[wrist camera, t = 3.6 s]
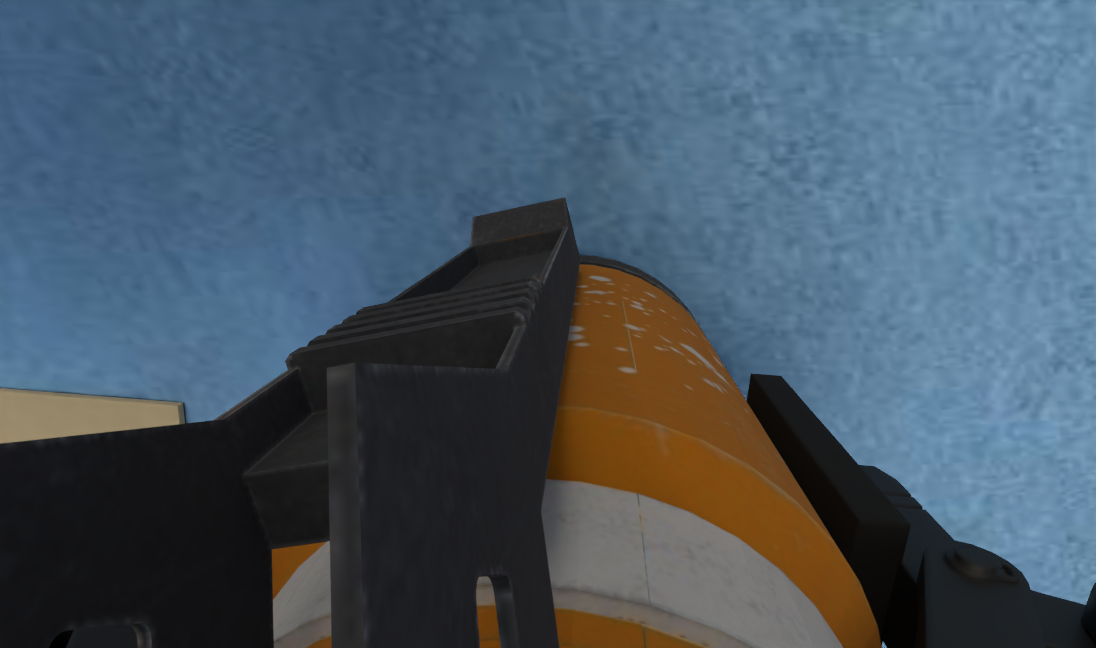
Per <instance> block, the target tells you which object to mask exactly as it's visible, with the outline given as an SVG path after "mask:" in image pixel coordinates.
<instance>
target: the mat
mask: <svg viewBox="0 0 1096 648" xmlns="http://www.w3.org/2000/svg"><path fill="white" fill-rule="evenodd" d="M177 424H185V418H184V409H183V403H179V402H167V401H155V400H142V399H130V398H117V397H105V396H93V395H80V394H68V393H56V392H43V391H31V390H18V389H6V388H0V444H1V443H10V442H20V441H29V440H38V439H48V438H57V437H66V436H75V435H85V434H94V433H103V432H113V431H122V430H131V429H140V428H150V427H159V426H168V425H177Z"/></svg>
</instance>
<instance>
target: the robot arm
mask: <svg viewBox="0 0 1096 648" xmlns="http://www.w3.org/2000/svg"><path fill="white" fill-rule="evenodd" d="M747 403H748V405H749V406H750V408H751V409H752V411H753V413H754V414H755V416H756V417H757V419H758V421H759V422H760V424H761V425H762V427H763V429H764V430H765V432H766V433H767V435H768V437H769V438H770V440H771V441H772V443H773V444H774V446H775V448H776V449H777V451H778V452H779V454H780V456H781V457H782V459H783V460H784V462H785V464H786V465H787V467H788V468H789V470H790V472H791V473H792V475H793V476H794V478H795V480H796V481H797V483H798V484H799V486H800V488H801V489H802V491H803V492H804V494H805V495H806V497H807V499H808V500H809V502H810V503H811V505H812V507H813V508H814V510H815V511H816V513H817V515H818V516H819V518H820V519H821V521H822V523H823V524H824V526H825V527H826V529H827V531H828V532H829V534H830V535H831V537H832V539H833V540H834V542H835V543H836V545H837V546H838V548H839V550H840V551H841V553H842V554H843V556H844V558H845V559H846V561H847V562H848V564H849V566H850V567H851V569H852V570H853V572H854V574H855V575H856V577H857V578H858V580H859V582H860V584H861V586H862V589H863V591H864V594H865V596H866V598H867V601H868V603H869V606H870V608H871V611H872V613H873V616H874V618H875V621H876V623H877V625H878V630H879V635H880V641H881V646H882V642H883V641H884V643H885V645H886V646H887V648H1096V583H1095V584H1094V586H1093V588H1092V590H1091V593H1090V596H1089V598H1088V601H1087V604H1086V605H1083V604H1080V603H1076V602H1072V601H1068V600H1065V599H1061V598H1057V597H1053V596H1050V595H1046V594H1042V593H1039V592H1036V591H1032V590H1030V587H1029V583H1028V582H1027V580H1026V579H1025V577H1024V575H1023V574H1022V572H1021V571H1019V570H1018V569H1017V568H1016V567H1014V566H1013V565H1012V564H1011V563H1010V562H1008V561H1007V560H1005V559H1003V558H1001V557H999V556H998V555H996V554H994V553H992V552H990V551H988V550H985V549H982V548H980V547H977V546H974V545H972V544H968V543H963V542H958V541H954V540H953V539H952V537H951V536H950V535H949V534H948V533H947V532H946V531H945V530H944V529H943V528H942V527H941V526H940V525H939V524H938V523H937V522H936V521H935V520H934V519H933V517H932V516H931V515H930V514H929V513H928V512H927V511H926V510H922V506H921V505H920V504H919V503H918V502H917V501H916V500H915V499H914V498H913V497H911V494H910V493H909V492H908V491H907V490H906V489H905V488H904V487H903V486H902V485H901V484H900V483H899V482H898V481H897V480H896V479H894V478H893V477H891V476H890V475H888V474H886V473H885V472H883V471H881V470H880V469H878V468H876V467H875V466H864V465H858V464H857V463H856V461H855V460H854V459H853V458H852V457H851V456H850V455H849V453H848V452H847V451H846V450H845V449H844V448H843V447H842V445H841V444H840V443H839V442H838V441H837V440H836V439H835V437H834V436H833V435H832V434H831V433H830V432H829V430H828V429H827V428H826V427H825V426H824V425H823V424H822V422H821V421H820V420H819V419H818V418H817V417H816V416H815V414H814V413H813V412H812V411H811V410H810V409H809V408H808V406H807V405H806V404H805V403H804V402H803V401H802V400H801V398H800V397H799V396H798V395H797V394H796V393H795V391H794V390H793V389H792V388H791V387H790V386H789V385H788V383H787V382H786V381H785V380H784V379H783V378H782V377H781V376H774V375H761V374H751V377H750V384H749V390H748V397H747ZM49 648H137V636H136V633H135V631H134V629H133V628H132V627H131V626H129V625H125V624H120V625H111V626H102V627H94V628H85V629H76V630H67V631H64V632H61V633H60V634H59V635H58V636H56V637H55V638H54V640H53V641H52V643H51V644H50V646H49Z"/></svg>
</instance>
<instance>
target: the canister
mask: <svg viewBox="0 0 1096 648" xmlns="http://www.w3.org/2000/svg"><path fill="white" fill-rule="evenodd" d="M285 362H286V365H287V368H288V370H287V371H286V372H284V373H283V374H281V375H280V376H278V377H277V378H275V379H274V380H272V381H271V382H269V383H268V384H266V385H265V386H263V387H262V388H261V389H259V390H258V391H256V392H255V393H253V394H252V395H250V396H249V397H247V398H246V399H244V400H243V401H241V402H240V403H238V404H237V405H235V406H234V407H232V408H231V409H230V410H228V411H227V412H225V413H224V414H222V415H221V416H219V417H218V418H216V419H215V420H213V421H205V422H196V423H187V424H177V425H168V426H159V427H150V428H140V429H131V430H122V431H113V432H103V433H94V434H85V435H75V436H66V437H57V438H48V439H38V440H29V441H20V442H10V443H1V444H0V648H49V646H50V644H51V643H52V641H53V640H54V638H55V637H56V636H58V635H59V634H60V633H61V632H64V631H67V630H76V629H85V628H94V627H102V626H111V625H120V624H125V625H129V626H131V627H132V628H133V629H134V631H135V633H136V636H137V648H882V646H881V641H880V635H879V630H878V625H877V623H876V621H875V618H874V616H873V613H872V611H871V608H870V606H869V603H868V601H867V598H866V596H865V594H864V591H863V589H862V586H861V584H860V582H859V580H858V578H857V577H856V575H855V574H854V572H853V570H852V569H851V567H850V566H849V564H848V562H847V561H846V559H845V558H844V556H843V554H842V553H841V551H840V550H839V548H838V546H837V545H836V543H835V542H834V540H833V539H832V537H831V535H830V534H829V532H828V531H827V529H826V527H825V526H824V524H823V523H822V521H821V519H820V518H819V516H818V515H817V513H816V511H815V510H814V508H813V507H812V505H811V503H810V502H809V500H808V499H807V497H806V495H805V494H804V492H803V491H802V489H801V488H800V486H799V484H798V483H797V481H796V480H795V478H794V476H793V475H792V473H791V472H790V470H789V468H788V467H787V465H786V464H785V462H784V460H783V459H782V457H781V456H780V454H779V452H778V451H777V449H776V448H775V446H774V444H773V443H772V441H771V440H770V438H769V437H768V435H767V433H766V432H765V430H764V429H763V427H762V425H761V424H760V422H759V421H758V419H757V417H756V416H755V414H754V413H753V411H752V409H751V408H750V406H749V405H748V403H747V401H746V400H745V398H744V397H743V395H742V393H741V392H740V390H739V389H738V387H737V386H736V384H735V382H734V381H733V379H732V378H731V376H730V374H729V373H728V371H727V370H726V368H725V366H724V365H723V363H722V362H721V360H720V358H719V357H718V355H717V354H716V352H715V350H714V349H713V347H712V346H711V344H710V342H709V341H708V339H707V338H706V336H705V335H704V333H703V331H702V330H701V328H700V327H699V325H698V323H697V322H696V320H695V319H694V317H693V316H692V314H691V313H690V311H689V310H688V308H687V307H686V306H685V305H684V304H683V303H682V302H681V300H680V299H679V298H678V297H677V296H676V295H675V294H674V293H673V292H672V291H671V290H669V289H668V288H667V287H666V286H664V285H663V284H662V283H661V282H659V281H658V280H657V279H655V278H654V277H652V276H650V275H648V274H646V273H645V272H643V271H641V270H639V269H637V268H635V267H632V266H630V265H627V264H624V263H622V262H619V261H616V260H612V259H607V258H602V257H597V256H585V255H579V253H578V249H577V245H576V240H575V236H574V232H573V228H572V224H571V220H570V216H569V211H568V207H567V203H566V199H565V198H561V199H556V200H551V201H546V202H542V203H537V204H532V205H527V206H523V207H518V208H513V209H509V210H504V211H499V212H494V213H490V214H485V215H480V216H476V217H473V219H472V232H471V244H470V247H469V248H467V249H466V250H464V251H463V252H461V253H460V254H458V255H457V256H456V257H454V258H453V259H451V260H450V261H448V262H447V263H445V264H444V265H442V266H441V267H439V268H438V269H436V270H435V271H433V272H432V273H430V274H429V275H427V276H426V277H425V278H423V279H422V280H420V281H419V282H417V283H416V284H414V285H413V286H411V287H410V288H408V289H407V290H405V291H404V292H402V293H401V294H399V295H398V296H396V297H395V298H393V299H392V300H391V301H389V302H388V303H384V304H379V305H374V306H369V307H364V308H362V309H361V310H359V311H357V313H356V315H352V316H349V317H348V318H346V319H345V320H343V322H342V324H339V325H335V326H334V327H332V328H330V329H329V330H328V331H327V332H326V334H325V335H320V336H318V337H316V338H314V339H313V340H311V341H310V342H309V344H308V346H307V347H301V348H299V349H297V350H295V351H294V352H292V353H291V354H289V356H288V358H287V360H286V361H285Z"/></svg>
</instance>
